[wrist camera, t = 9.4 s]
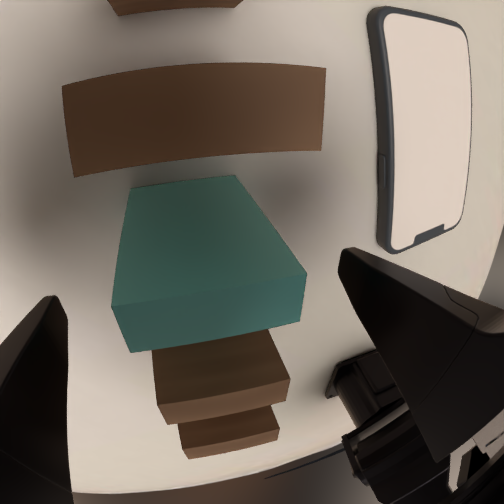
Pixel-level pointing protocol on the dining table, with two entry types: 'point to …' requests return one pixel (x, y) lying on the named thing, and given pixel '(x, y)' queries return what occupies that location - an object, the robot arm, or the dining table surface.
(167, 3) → the domino
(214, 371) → the domino
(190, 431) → the brown wooden block
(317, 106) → the domino
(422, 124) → the smartphone with white screen
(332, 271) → the dining table surface
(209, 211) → the domino
